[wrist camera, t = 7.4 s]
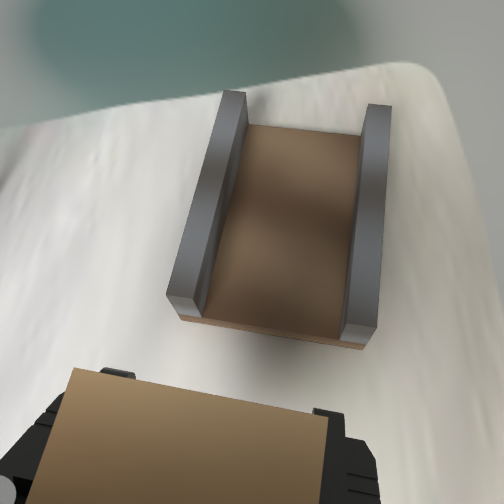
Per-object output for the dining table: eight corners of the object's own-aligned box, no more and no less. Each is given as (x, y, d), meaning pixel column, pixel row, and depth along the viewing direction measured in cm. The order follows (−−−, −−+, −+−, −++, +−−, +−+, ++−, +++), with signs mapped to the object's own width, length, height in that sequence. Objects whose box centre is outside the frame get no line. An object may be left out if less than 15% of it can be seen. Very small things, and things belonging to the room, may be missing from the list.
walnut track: (362, 350, 22) (376, 327, 18) (181, 320, 23) (165, 294, 20) (378, 149, 27) (391, 106, 24) (230, 133, 28) (224, 90, 25)
